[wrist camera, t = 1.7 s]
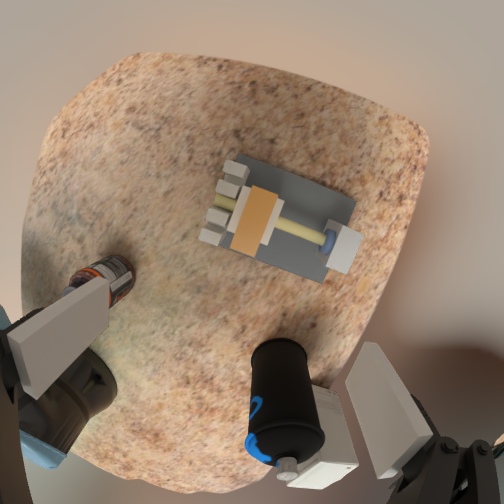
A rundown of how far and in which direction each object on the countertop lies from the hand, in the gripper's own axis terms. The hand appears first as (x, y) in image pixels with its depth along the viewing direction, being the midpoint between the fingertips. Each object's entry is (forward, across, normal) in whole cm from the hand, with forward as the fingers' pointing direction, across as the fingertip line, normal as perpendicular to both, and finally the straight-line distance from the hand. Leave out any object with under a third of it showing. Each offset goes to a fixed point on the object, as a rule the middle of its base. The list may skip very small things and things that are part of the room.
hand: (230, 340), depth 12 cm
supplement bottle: (+22, -17, -8) cm, 29 cm away
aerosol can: (+22, +8, -16) cm, 28 cm away
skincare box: (+22, +16, -23) cm, 36 cm away
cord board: (+22, +3, +4) cm, 23 cm away
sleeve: (+18, 0, +5) cm, 19 cm away
